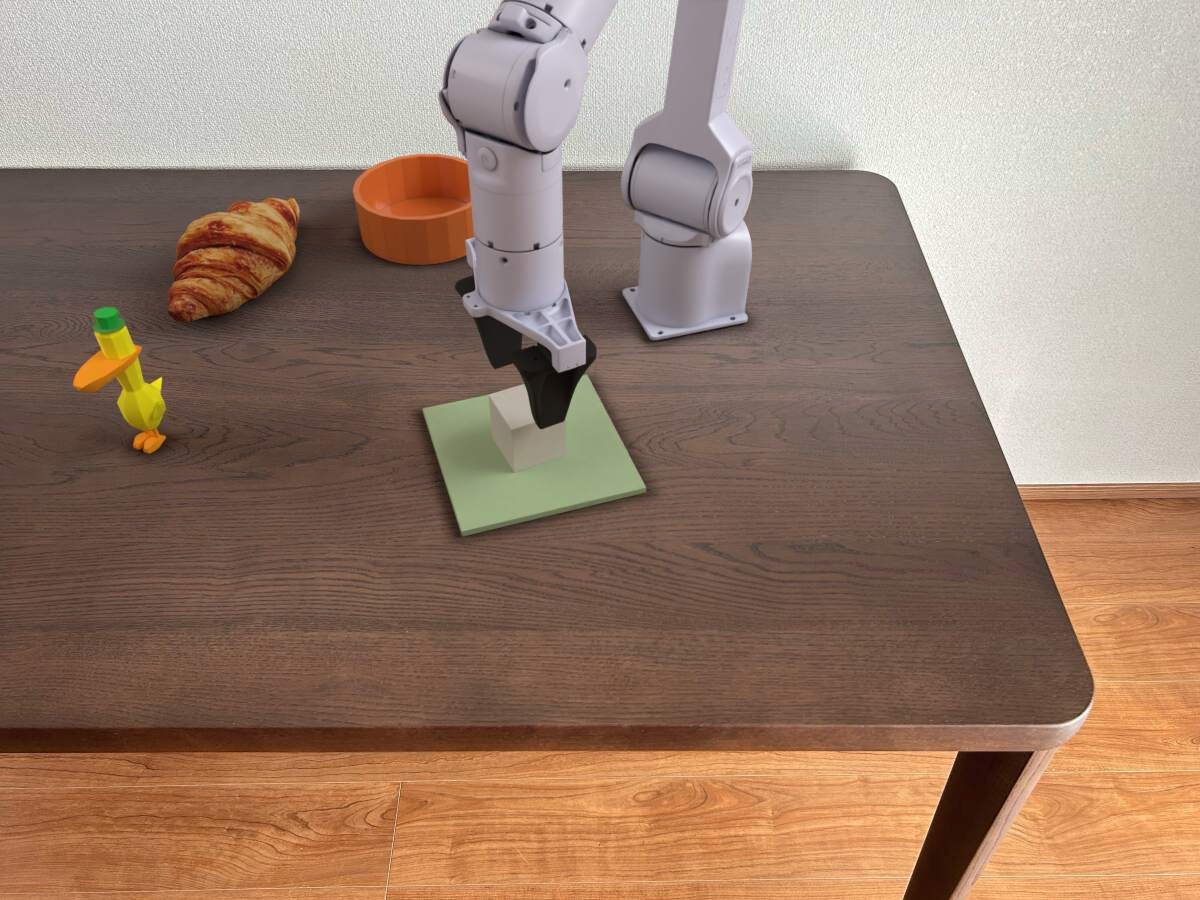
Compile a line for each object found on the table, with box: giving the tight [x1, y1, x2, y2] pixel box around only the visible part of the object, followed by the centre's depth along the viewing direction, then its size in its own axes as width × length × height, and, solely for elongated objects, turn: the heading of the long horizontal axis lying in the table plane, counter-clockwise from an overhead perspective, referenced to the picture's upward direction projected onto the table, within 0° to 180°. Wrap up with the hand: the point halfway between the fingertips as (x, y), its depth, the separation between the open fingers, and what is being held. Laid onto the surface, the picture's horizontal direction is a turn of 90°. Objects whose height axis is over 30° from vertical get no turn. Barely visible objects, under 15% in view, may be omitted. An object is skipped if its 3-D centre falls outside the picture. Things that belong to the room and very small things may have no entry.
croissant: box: [166, 197, 301, 323], centre depth 91 cm, size 21×10×8 cm, turn 166°
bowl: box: [352, 153, 474, 266], centre depth 97 cm, size 13×13×5 cm
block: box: [488, 383, 567, 473], centre depth 73 cm, size 4×4×4 cm
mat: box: [422, 374, 647, 538], centre depth 75 cm, size 14×14×1 cm
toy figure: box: [72, 306, 167, 455], centre depth 71 cm, size 7×4×12 cm, turn 157°
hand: (527, 391), depth 71 cm, fingers open, 7 cm apart
